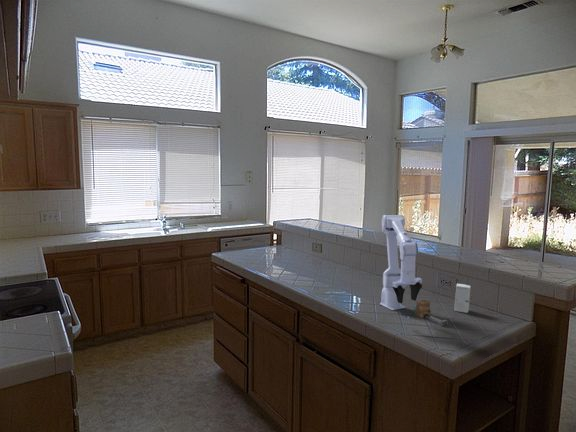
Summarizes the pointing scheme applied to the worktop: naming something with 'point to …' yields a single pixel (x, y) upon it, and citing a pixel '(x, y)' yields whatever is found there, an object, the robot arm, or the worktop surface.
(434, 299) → the worktop surface
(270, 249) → the worktop surface
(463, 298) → the skincare box
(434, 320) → the rail
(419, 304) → the keeper
